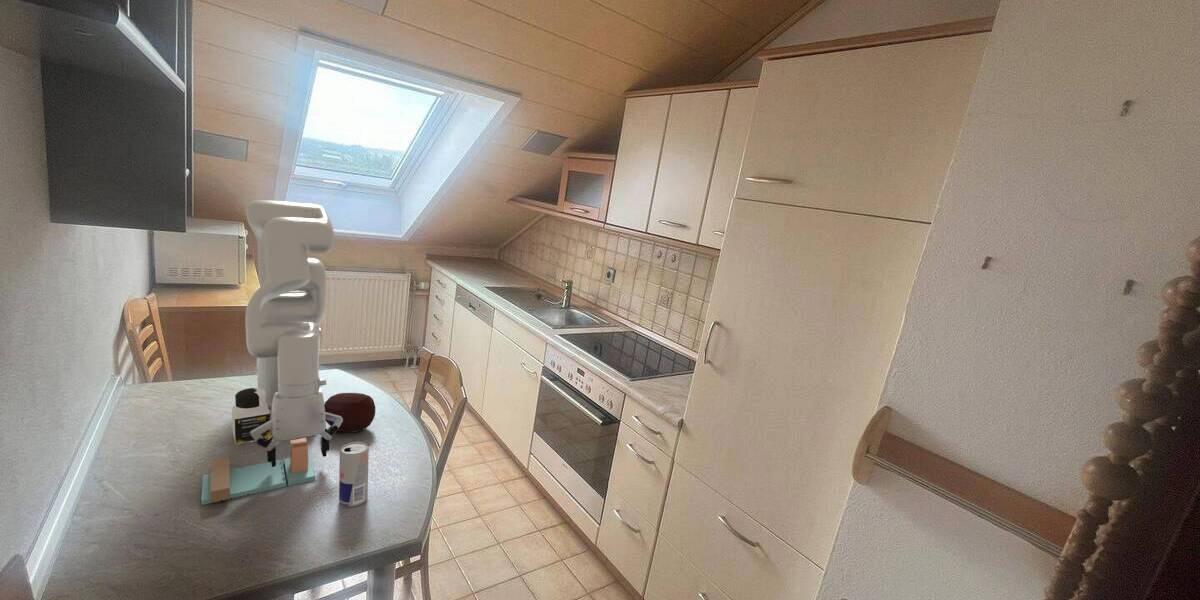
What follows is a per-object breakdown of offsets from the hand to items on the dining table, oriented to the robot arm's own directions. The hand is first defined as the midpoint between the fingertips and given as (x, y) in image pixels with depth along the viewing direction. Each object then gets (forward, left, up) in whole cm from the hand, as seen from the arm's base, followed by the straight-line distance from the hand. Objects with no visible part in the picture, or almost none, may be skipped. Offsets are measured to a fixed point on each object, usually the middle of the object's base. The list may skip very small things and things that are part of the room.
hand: (299, 458), depth 108 cm
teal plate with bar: (0, -10, -3) cm, 10 cm away
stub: (0, 0, -3) cm, 3 cm away
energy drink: (+16, +8, -4) cm, 18 cm away
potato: (-16, +13, -4) cm, 21 cm away
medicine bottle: (-22, -8, -4) cm, 24 cm away
